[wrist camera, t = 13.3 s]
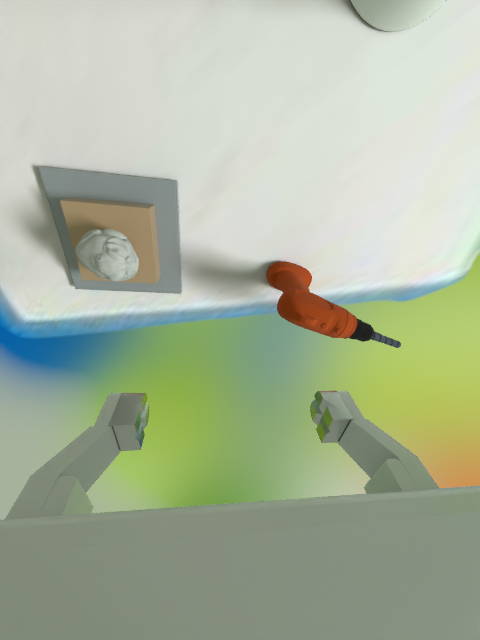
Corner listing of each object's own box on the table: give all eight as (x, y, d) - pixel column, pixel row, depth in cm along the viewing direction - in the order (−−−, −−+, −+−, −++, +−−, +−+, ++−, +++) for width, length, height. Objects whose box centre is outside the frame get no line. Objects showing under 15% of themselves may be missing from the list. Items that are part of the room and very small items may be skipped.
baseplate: (43, 166, 29) (20, 166, 26) (177, 180, 31) (173, 182, 28) (78, 286, 38) (65, 298, 34) (181, 290, 40) (178, 302, 36)
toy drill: (354, 315, 44) (399, 372, 31) (261, 280, 41) (268, 328, 28) (371, 293, 42) (426, 344, 29) (273, 254, 39) (286, 293, 26)
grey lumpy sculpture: (147, 273, 33) (134, 296, 28) (93, 263, 32) (66, 285, 26) (149, 228, 30) (134, 244, 24) (89, 215, 29) (57, 229, 23)
